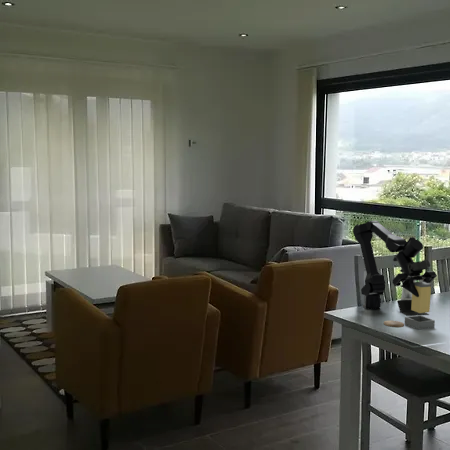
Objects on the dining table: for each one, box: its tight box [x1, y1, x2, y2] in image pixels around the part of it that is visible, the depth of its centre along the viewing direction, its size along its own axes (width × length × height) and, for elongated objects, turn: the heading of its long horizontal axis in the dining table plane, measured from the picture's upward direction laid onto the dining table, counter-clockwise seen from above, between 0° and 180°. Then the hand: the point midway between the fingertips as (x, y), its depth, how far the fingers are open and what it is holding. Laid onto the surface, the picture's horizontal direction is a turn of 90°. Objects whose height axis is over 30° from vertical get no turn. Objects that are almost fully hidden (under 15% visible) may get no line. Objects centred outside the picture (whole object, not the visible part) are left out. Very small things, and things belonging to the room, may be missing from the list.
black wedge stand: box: [397, 299, 430, 317], centre depth 265 cm, size 12×7×10 cm
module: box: [411, 281, 432, 313], centre depth 244 cm, size 5×5×12 cm
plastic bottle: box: [400, 281, 416, 300], centre depth 275 cm, size 6×7×20 cm
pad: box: [383, 320, 405, 328], centre depth 246 cm, size 8×8×1 cm
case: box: [404, 315, 436, 330], centre depth 249 cm, size 17×8×4 cm, turn 23°
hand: (423, 296), depth 242 cm, fingers closed on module, 5 cm apart
